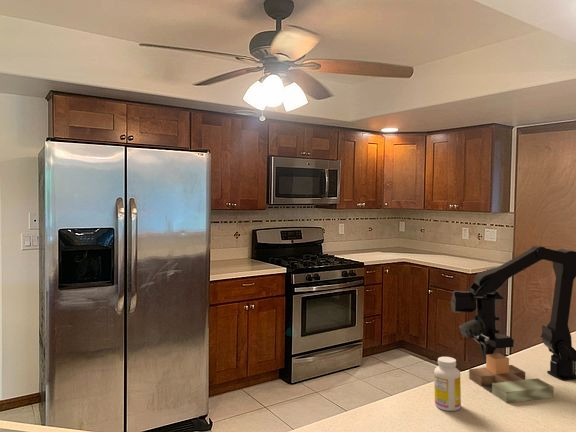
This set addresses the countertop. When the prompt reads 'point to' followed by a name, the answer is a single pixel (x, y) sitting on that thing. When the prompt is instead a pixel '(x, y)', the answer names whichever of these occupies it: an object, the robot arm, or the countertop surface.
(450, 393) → the supplement bottle
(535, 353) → the countertop surface
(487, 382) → the trap board
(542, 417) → the countertop surface
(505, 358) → the block
